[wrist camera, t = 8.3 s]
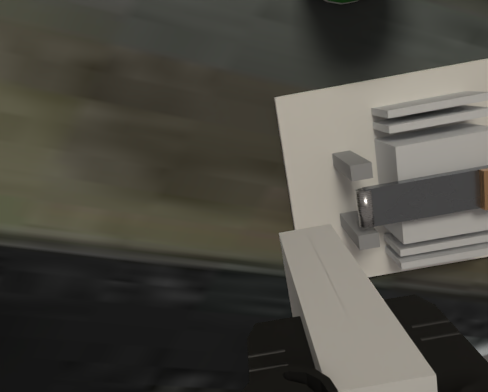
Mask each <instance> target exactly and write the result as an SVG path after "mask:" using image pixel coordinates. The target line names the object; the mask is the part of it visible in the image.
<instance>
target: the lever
mask: <svg viewBox="0 0 488 392" xmlns="http://www.w3.org/2000/svg"><path fill="white" fill-rule="evenodd" d="M356 200H357V209H358V217H359V226H360V227H364V228H368V227H369V228H370V227H375V226H381V225H387V224H393V223H398V222H404V221H410V220H415V219H421V218H427V217H433V216H438V215H444V214H450V213H455V212H461V211H467V210H473V209H478V208H481V209H483V210H488V165H486V166H480V167H474V168H469V169H463V170H457V171H452V172H446V173H441V174H435V175H429V176H424V177H418V178H412V179H407V180H401V181H395V182H390V183H384V184H378V185H373V186H367V187H362V188H359V189H357V190H356Z"/></svg>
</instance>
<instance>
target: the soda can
mask: <svg viewBox="0 0 488 392" xmlns="http://www.w3.org/2000/svg"><path fill="white" fill-rule="evenodd" d="M324 1H326V2H329V3H336V4H346V3H352V2H356V1H358V0H324Z"/></svg>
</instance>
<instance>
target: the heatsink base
mask: <svg viewBox="0 0 488 392" xmlns="http://www.w3.org/2000/svg"><path fill="white" fill-rule="evenodd" d="M274 102H275V109H276V115H277V122H278V128H279V134H280V141H281V147H282V154H283V160H284V167H285V173H286V179H287V186H288V192H289V199H290V205H291V211H292V218H293V224H294V230H299V229H304V228H310V227H316V226H321V225H327V224H331V226H332V227H333V229H334V230H335V231H336V233H337V234H338V236H339V237H340V239H341V240H342V241H343V243H344V244H345V246H346V247H347V249H348V250H349V251H350V253H351V254H352V256H353V257H354V258H355V260H356V261H357V263H358V264H359V266H360V267H361V268H362V270H363V271H364V273H365V274H366V276H367V277H373V276H379V275H385V274H391V273H396V272H402V271H408V270H414V269H419V268H425V267H431V266H437V265H443V264H448V263H454V262H460V261H466V260H471V259H477V258H483V257H488V210H483V209H481V208H478V209H473V210H467V211H461V212H455V213H450V214H444V215H438V216H433V217H427V218H421V219H415V220H410V221H404V222H398V223H393V224H387V225H381V226H375V227H370V228H369V227H368V228H364V227H360V226H359V217H358V209H357V200H356V190H357V189H359V188H362V187H367V186H373V185H378V184H384V183H390V182H395V181H401V180H407V179H412V178H418V177H424V176H429V175H435V174H441V173H446V172H452V171H457V170H463V169H469V168H474V167H480V166H486V165H488V58H487V59H481V60H476V61H470V62H465V63H459V64H454V65H448V66H443V67H437V68H432V69H426V70H421V71H416V72H410V73H405V74H399V75H394V76H388V77H383V78H377V79H372V80H366V81H361V82H355V83H350V84H345V85H339V86H334V87H328V88H323V89H317V90H312V91H306V92H301V93H295V94H290V95H284V96H279V97H274Z"/></svg>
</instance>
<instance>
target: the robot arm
mask: <svg viewBox="0 0 488 392" xmlns="http://www.w3.org/2000/svg"><path fill="white" fill-rule="evenodd" d="M279 237H280V243H281V249H282V255H283V261H284V267H285V274H286V280H287V286H288V292H289V298H290V304H291V310H292V316H293V317H291V318H285V319H279V320H274V321H268V322H262V323H256V324H255V326H254V327H253V329H252V331H251V333H250V335H249V336H248V338H247V345H248V364H249V383H248V385H247V386H246V387H245V388H244V390H243V391H242V392H488V362H487V361H486V360H485V359H484V358H483V357H482V356H481V354H480V353H479V352H478V351H477V350H476V349H475V348H474V347H473V346H472V345H471V344H470V342H469V341H468V340H467V339H466V338H465V337H464V336H463V335H460V333H459V331H458V329H457V328H456V327H455V326H454V325H453V324H452V323H451V322H449V321H448V319H447V318H446V316H445V315H444V314H443V313H442V312H441V311H440V310H439V309H438V308H437V307H436V306H435V305H434V304H432V303H430V302H428V301H426V300H424V299H422V298H420V297H418V296H416V295H409V296H403V297H397V298H392V299H386V300H383V298H382V297H381V295H380V294H379V293H378V291H377V290H376V288H375V287H374V286H373V284H372V283H371V281H370V280H369V278H368V277H367V276H366V274H365V273H364V271H363V270H362V268H361V267H360V266H359V264H358V263H357V261H356V260H355V258H354V257H353V256H352V254H351V253H350V251H349V250H348V249H347V247H346V246H345V244H344V243H343V241H342V240H341V239H340V237H339V236H338V234H337V233H336V231H335V230H334V229H333V227H332V226H331V224H327V225H321V226H316V227H310V228H304V229H299V230H293V231H287V232H282V233H279Z"/></svg>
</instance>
